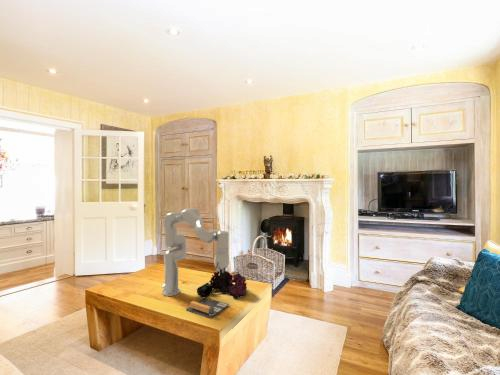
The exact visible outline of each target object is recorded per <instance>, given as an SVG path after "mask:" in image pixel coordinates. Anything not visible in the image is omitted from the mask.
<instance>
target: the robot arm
mask: <svg viewBox="0 0 500 375" xmlns="http://www.w3.org/2000/svg"><path fill="white" fill-rule="evenodd" d="M181 223H187V224H188V225H190V227H192V228H193V229H194V234H195V235H196V237H197V238H198V239H199V240H201V241H202V242H204V243H206V244H209V243H214V242H216V253H215V260H214V268H215V269H216V272H218V271H219V275H220V278H221V279H224V278H225V271H227V270H226V269H227V268H228V266H229V264H230V255H229V253H230V252H229V232H228V231H227V230H220V229H211V230H206V229H205V228H204V227H203V224H204V219H203V218H202V217H201V212H200V210H199V209H197V208H195V207H191V208H190V207H189V208H185V209H183V210H181V211H171V212H169V213H166V214H165V216H164V217H163V227H164V243H165V244H164V245H165V247H166V248H167V249H169V250H167V251H165V252H164V254H163V262H164V263H163V265H164V284H162V286H161V289H163V290H162V295H163V296H167V297H172V296H177V295H179V294H180V293H181V289H180V288H179V266H178V264H177V262H179V261H182V260H184V259H185V258H186V255H187V244H186V243H187V242H186V241H187V240H186V237H185V235H184V234H183V233H181V232H178V229H177V226H176V225H175V224H181Z"/></svg>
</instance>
